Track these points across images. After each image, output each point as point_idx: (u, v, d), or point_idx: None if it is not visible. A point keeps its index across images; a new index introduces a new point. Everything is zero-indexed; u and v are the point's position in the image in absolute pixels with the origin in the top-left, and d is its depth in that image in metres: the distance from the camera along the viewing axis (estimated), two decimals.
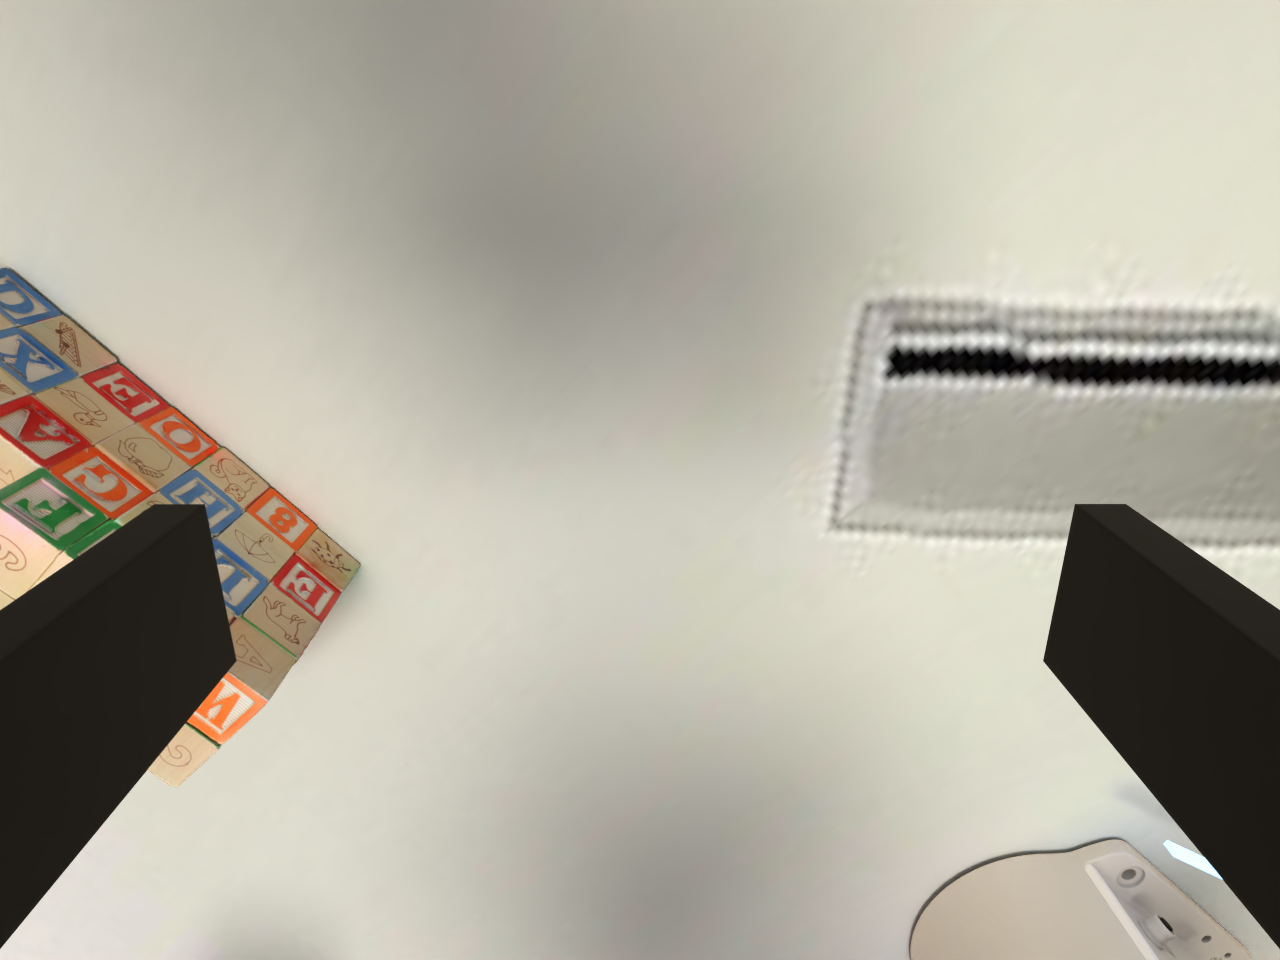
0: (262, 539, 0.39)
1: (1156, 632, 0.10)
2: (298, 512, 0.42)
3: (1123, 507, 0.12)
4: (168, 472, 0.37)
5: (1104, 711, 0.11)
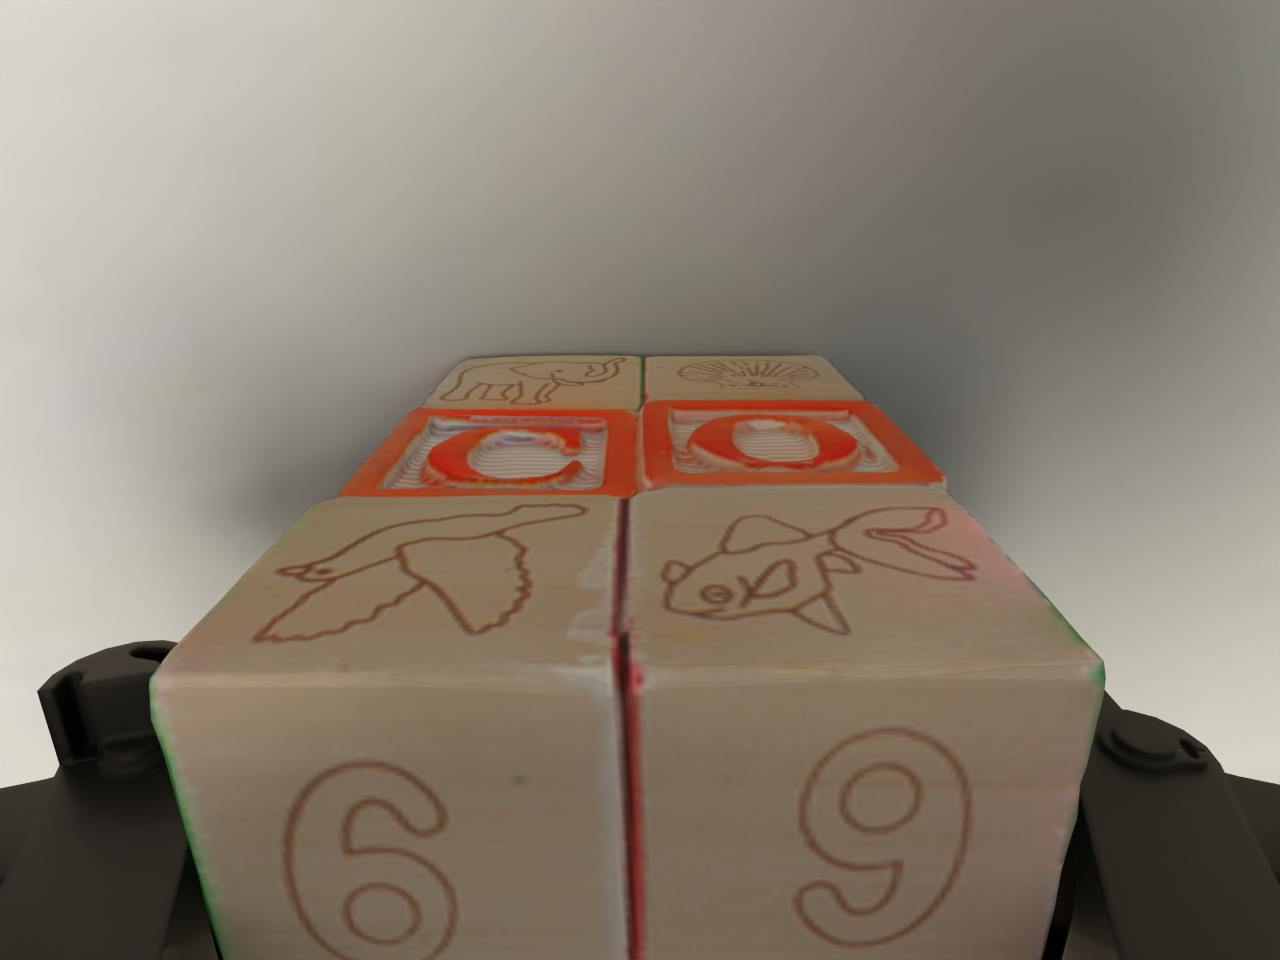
0: None
1: None
2: None
3: None
4: None
5: None
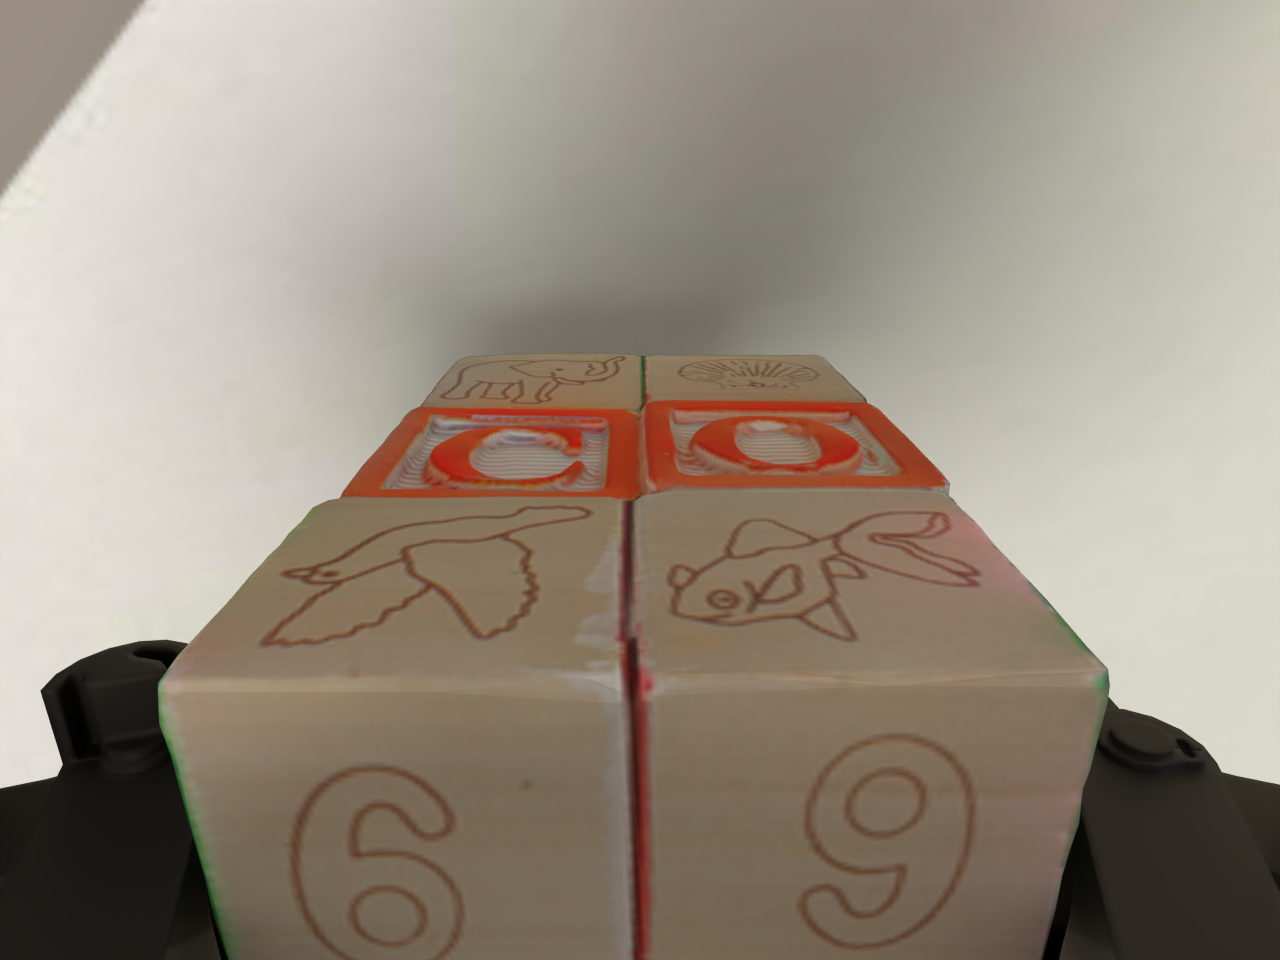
0: None
1: None
2: None
3: None
4: None
5: None
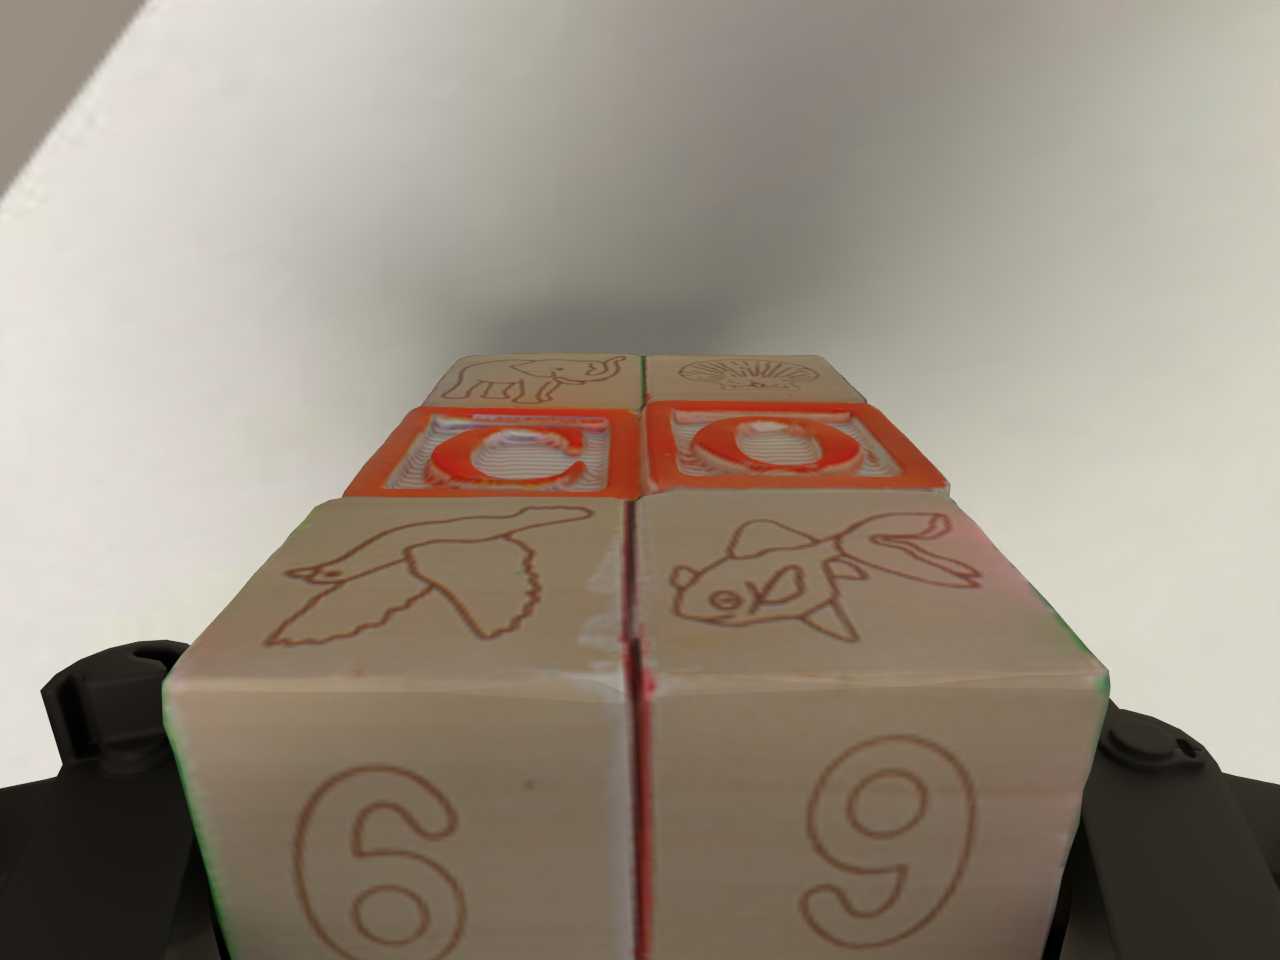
0: None
1: None
2: None
3: None
4: None
5: None
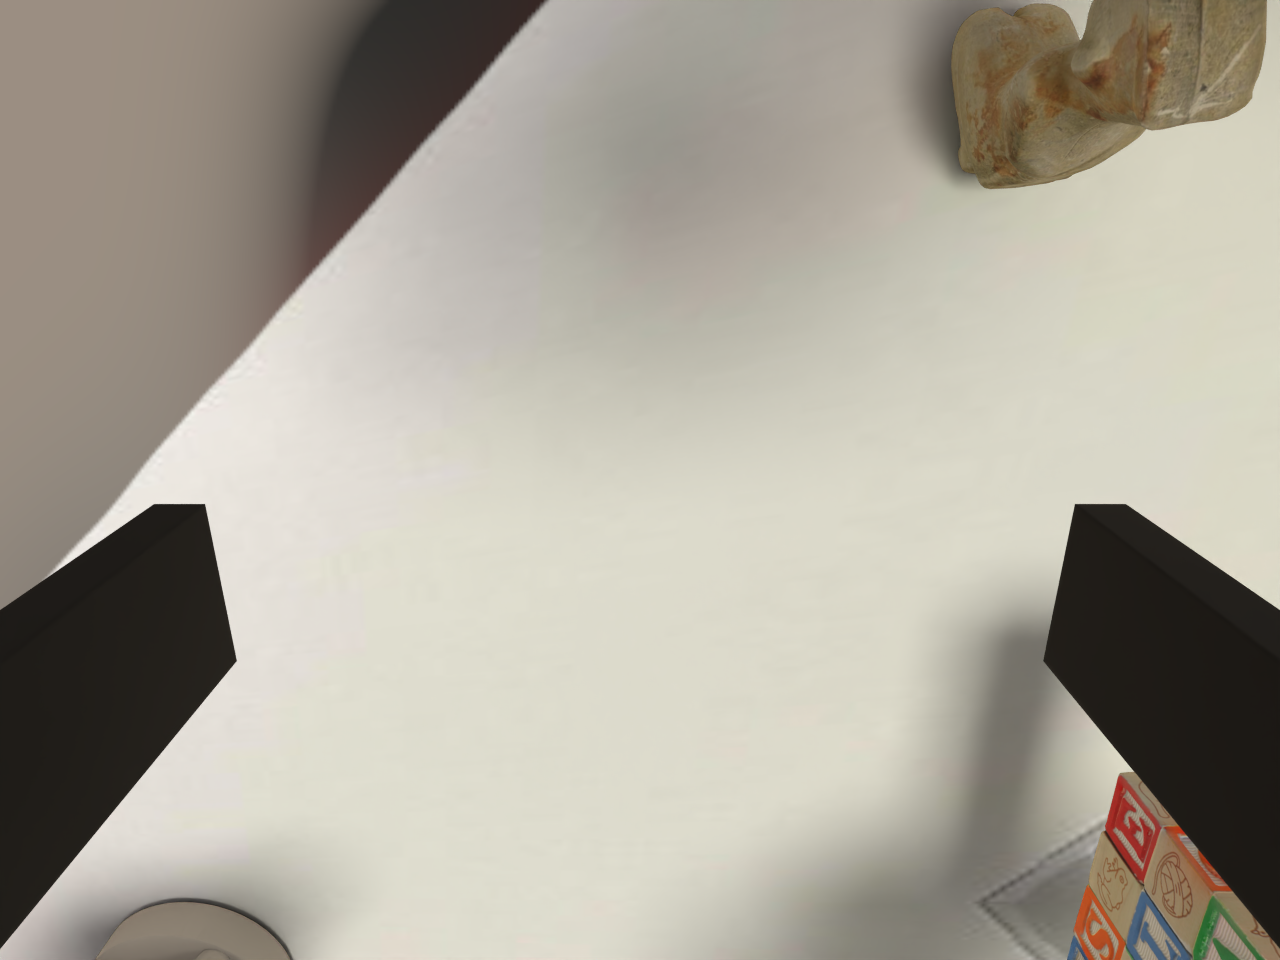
0: None
1: (1156, 632, 0.10)
2: None
3: (1123, 507, 0.12)
4: None
5: (1103, 710, 0.11)
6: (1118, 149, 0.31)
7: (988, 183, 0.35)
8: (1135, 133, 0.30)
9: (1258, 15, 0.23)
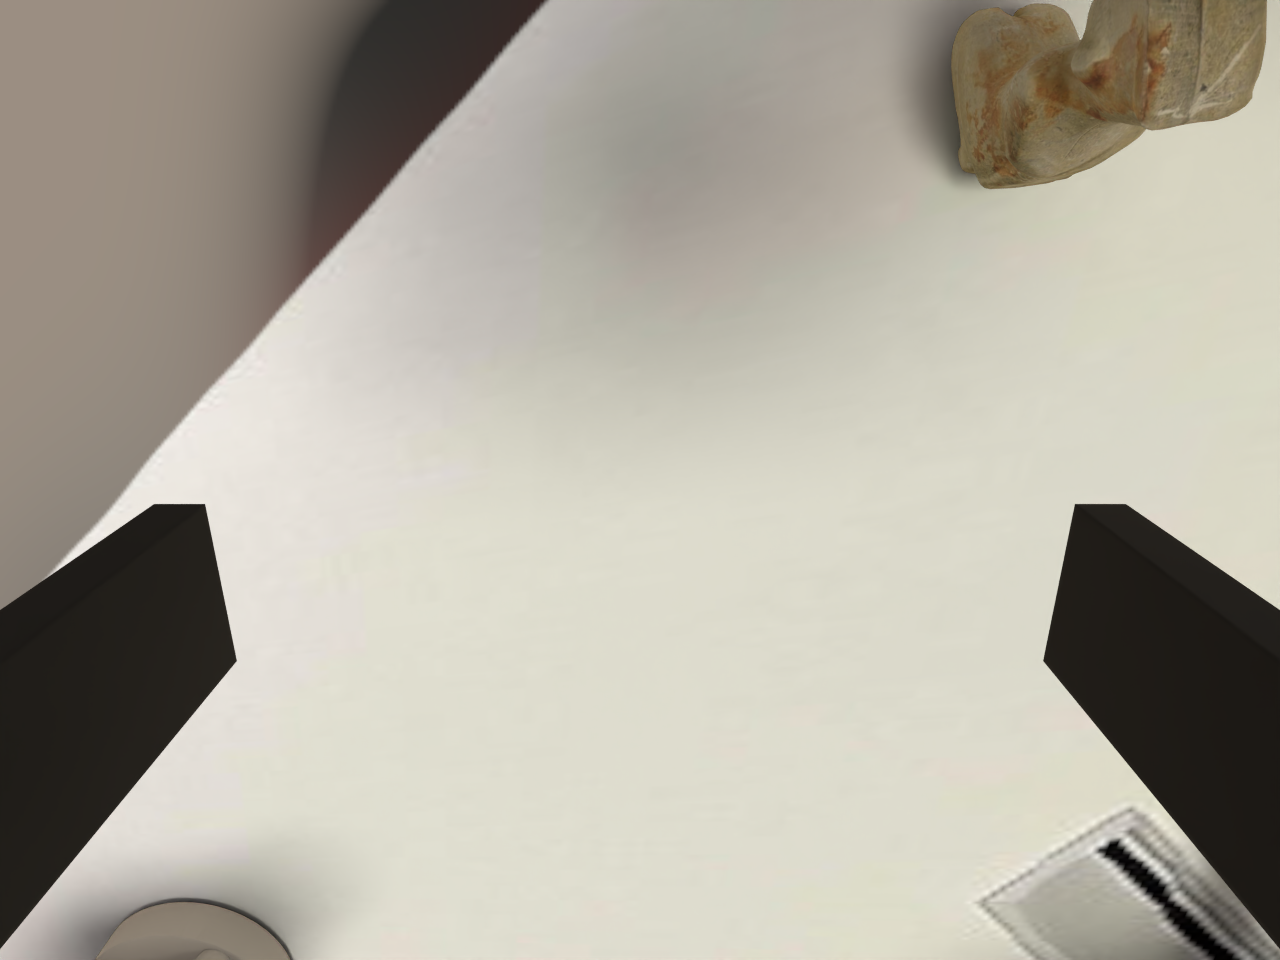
0: None
1: (1156, 632, 0.10)
2: None
3: (1123, 507, 0.12)
4: None
5: (1103, 710, 0.11)
6: (1118, 149, 0.31)
7: (988, 183, 0.35)
8: (1135, 133, 0.30)
9: (1258, 15, 0.23)
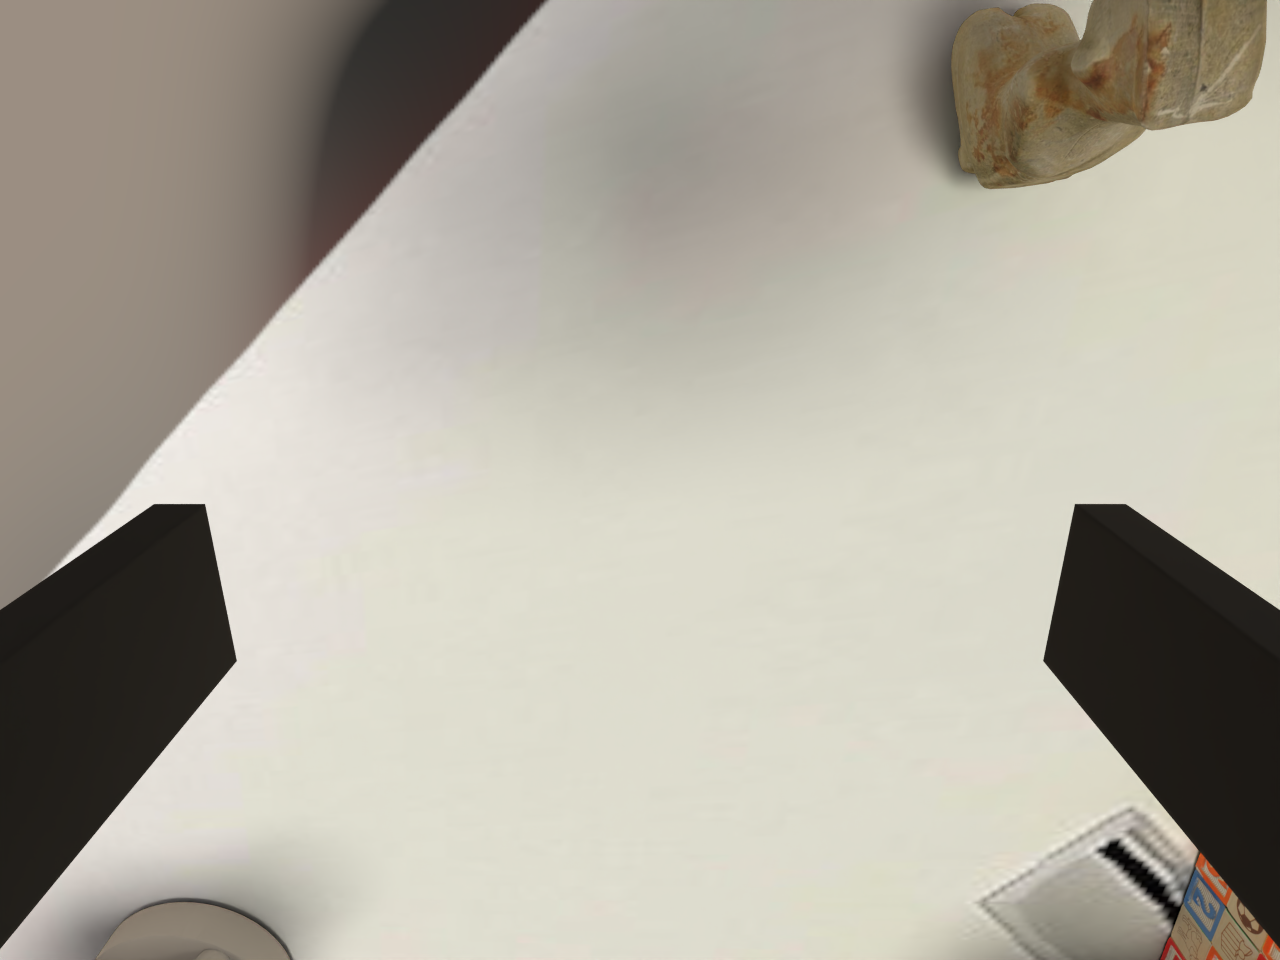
0: None
1: (1156, 632, 0.10)
2: None
3: (1123, 507, 0.12)
4: None
5: (1103, 710, 0.11)
6: (1118, 149, 0.31)
7: (988, 183, 0.35)
8: (1135, 133, 0.30)
9: (1258, 15, 0.23)
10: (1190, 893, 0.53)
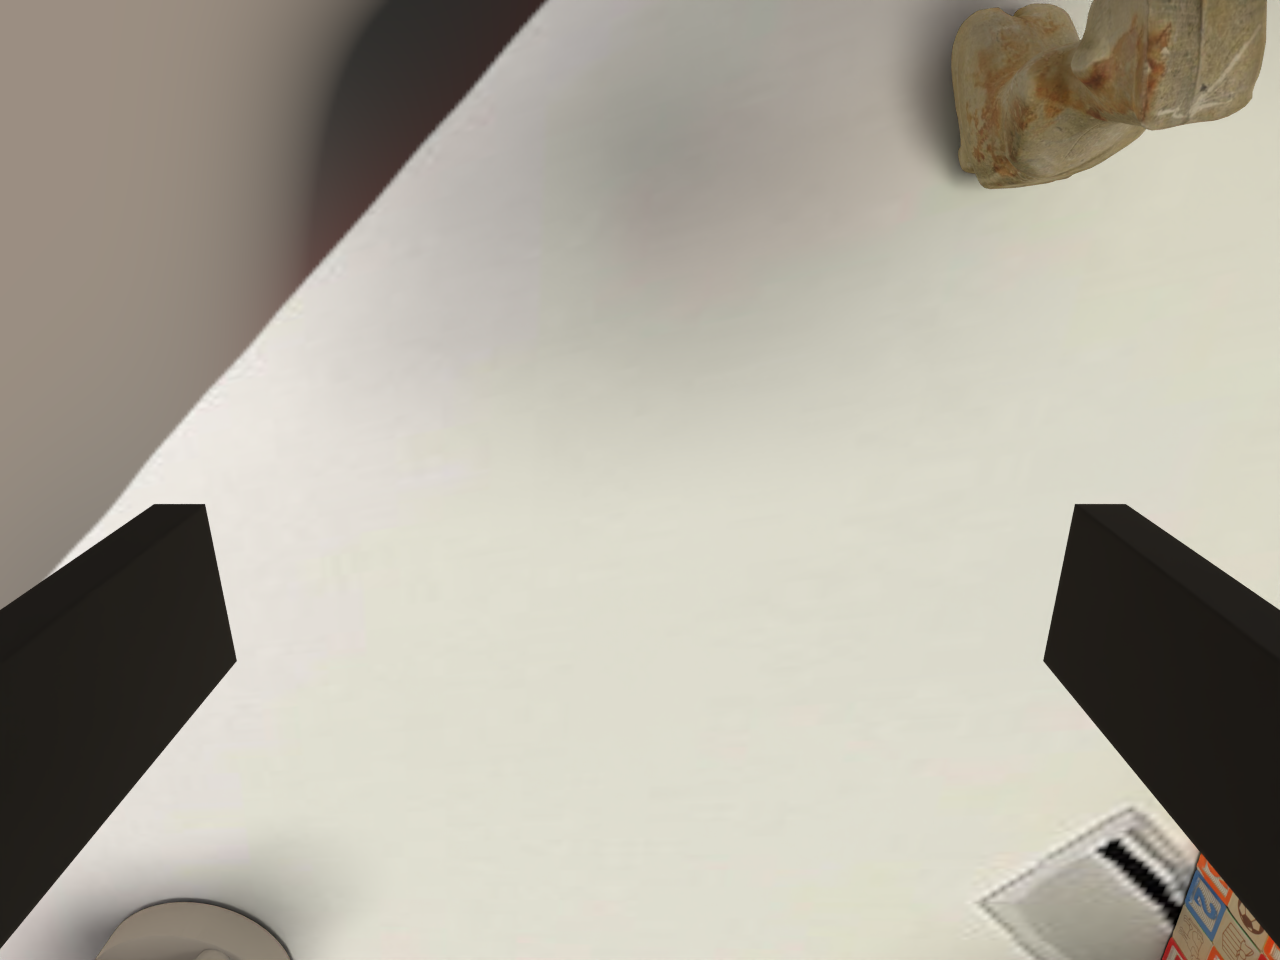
0: None
1: (1156, 632, 0.10)
2: None
3: (1123, 507, 0.12)
4: None
5: (1103, 710, 0.11)
6: (1118, 149, 0.31)
7: (988, 183, 0.35)
8: (1135, 133, 0.30)
9: (1258, 15, 0.23)
10: (1191, 893, 0.53)
